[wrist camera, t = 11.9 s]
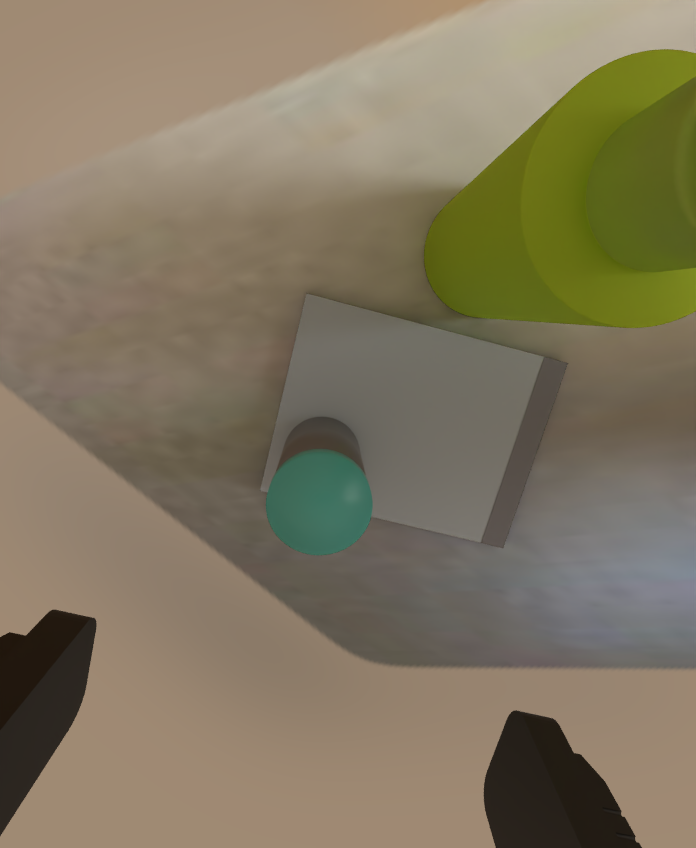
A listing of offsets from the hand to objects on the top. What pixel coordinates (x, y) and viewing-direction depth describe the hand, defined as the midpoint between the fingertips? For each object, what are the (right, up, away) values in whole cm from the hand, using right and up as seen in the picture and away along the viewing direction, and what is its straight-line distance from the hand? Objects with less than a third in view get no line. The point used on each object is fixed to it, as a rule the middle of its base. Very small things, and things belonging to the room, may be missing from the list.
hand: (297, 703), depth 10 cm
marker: (0, +4, +16) cm, 16 cm away
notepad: (+4, +5, +16) cm, 18 cm away
